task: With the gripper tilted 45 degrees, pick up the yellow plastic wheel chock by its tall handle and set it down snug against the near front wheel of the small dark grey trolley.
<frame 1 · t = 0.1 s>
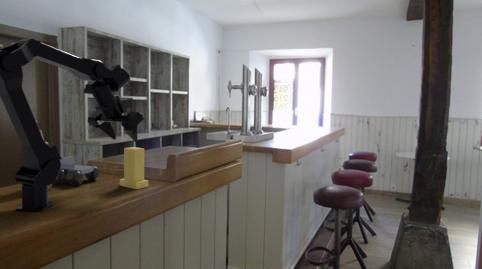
hand: (125, 140, 115), 15 cm above the countertop, tool tilted 35°, fingers open, 9 cm apart
chock: (133, 186, 114), on the countertop
trolley: (76, 181, 117), on the countertop
squeeze bottle: (39, 190, 105), on the countertop
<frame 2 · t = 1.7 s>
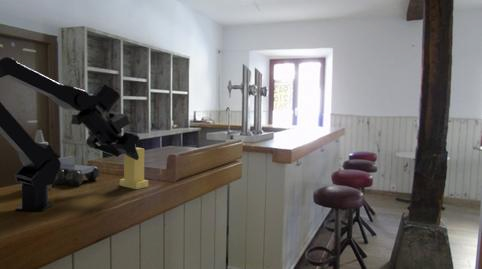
hand: (128, 157, 111), 10 cm above the countertop, tool tilted 45°, fingers open, 9 cm apart
nothing on the countertop moved.
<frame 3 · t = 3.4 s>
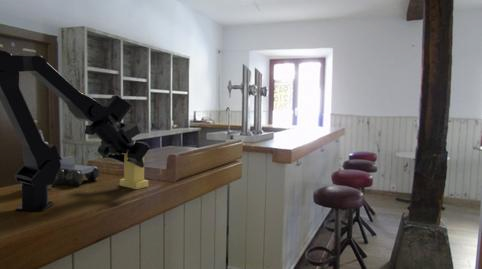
hand: (137, 165, 115), 7 cm above the countertop, tool tilted 45°, fingers closed on chock, 5 cm apart
chock: (134, 185, 114), on the countertop, touching gripper
everything else where it was.
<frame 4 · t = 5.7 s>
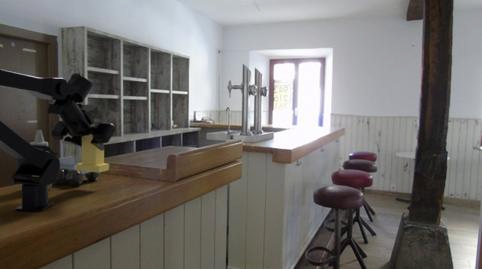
hand: (95, 148, 110), 12 cm above the countertop, tool tilted 45°, fingers closed on chock, 5 cm apart
chock: (92, 170, 109), point 6 cm above the countertop, touching gripper
everything else where it was.
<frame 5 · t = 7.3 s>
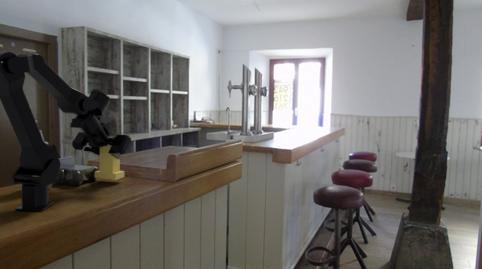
hand: (112, 157, 119), 8 cm above the countertop, tool tilted 45°, fingers closed on chock, 5 cm apart
chock: (109, 177, 118), point 2 cm above the countertop, touching gripper
everything else where it was.
when the fingers open (8 cm above the countertop, at t = 8.2 s): chock drops 1 cm, on the countertop.
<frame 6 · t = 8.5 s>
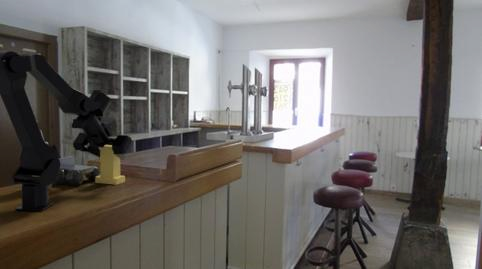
hand: (112, 158, 119), 8 cm above the countertop, tool tilted 45°, fingers open, 8 cm apart
chock: (110, 182, 118), on the countertop
everything else where it was.
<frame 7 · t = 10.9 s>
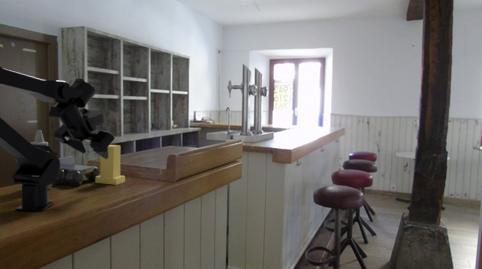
hand: (95, 155, 110), 10 cm above the countertop, tool tilted 40°, fingers open, 9 cm apart
nothing on the countertop moved.
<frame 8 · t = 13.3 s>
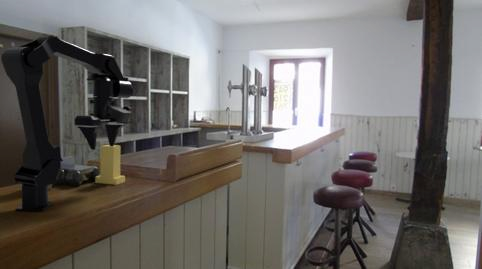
hand: (102, 147, 107), 13 cm above the countertop, tool pointing down, fingers open, 9 cm apart
nothing on the countertop moved.
at the end: chock 0.2 cm from the target spot on the countertop beside the trolley, on the countertop; chock tilted 0°; the gripper is holding nothing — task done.
